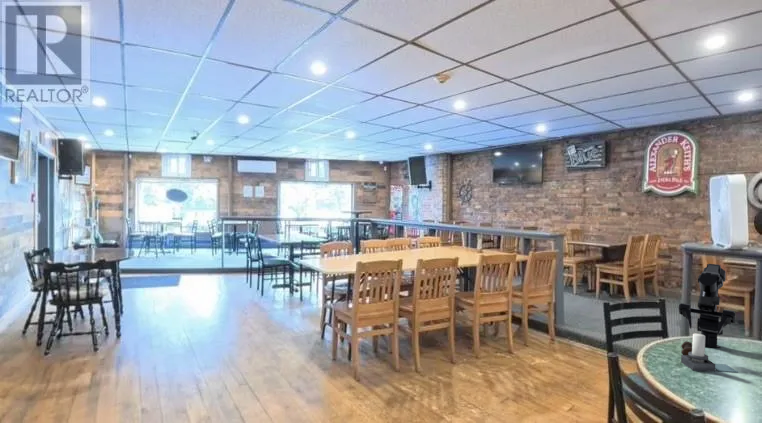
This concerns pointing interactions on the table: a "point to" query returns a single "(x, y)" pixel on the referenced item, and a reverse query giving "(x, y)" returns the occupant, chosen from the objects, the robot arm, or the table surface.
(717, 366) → the mat
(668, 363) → the table surface
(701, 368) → the block
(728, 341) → the table surface
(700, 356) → the pin
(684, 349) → the bolt
